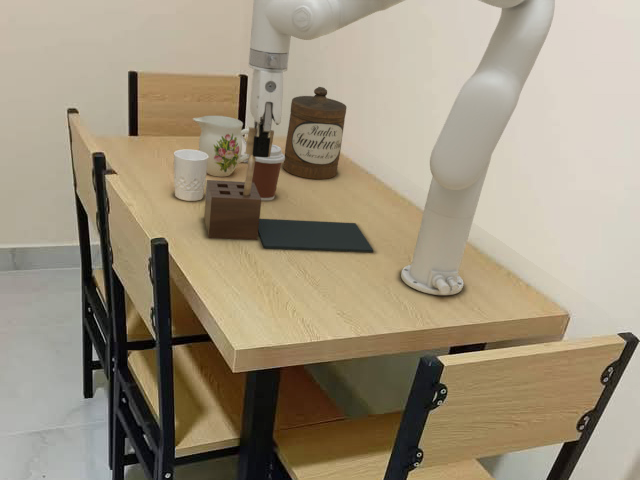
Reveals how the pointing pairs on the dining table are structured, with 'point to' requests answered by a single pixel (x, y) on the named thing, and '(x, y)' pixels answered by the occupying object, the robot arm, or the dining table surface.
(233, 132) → the pitcher
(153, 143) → the dining table surface
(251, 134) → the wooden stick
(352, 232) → the mat
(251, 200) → the utensil block
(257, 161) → the coffee cup
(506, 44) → the robot arm
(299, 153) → the wooden container
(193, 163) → the white cup
